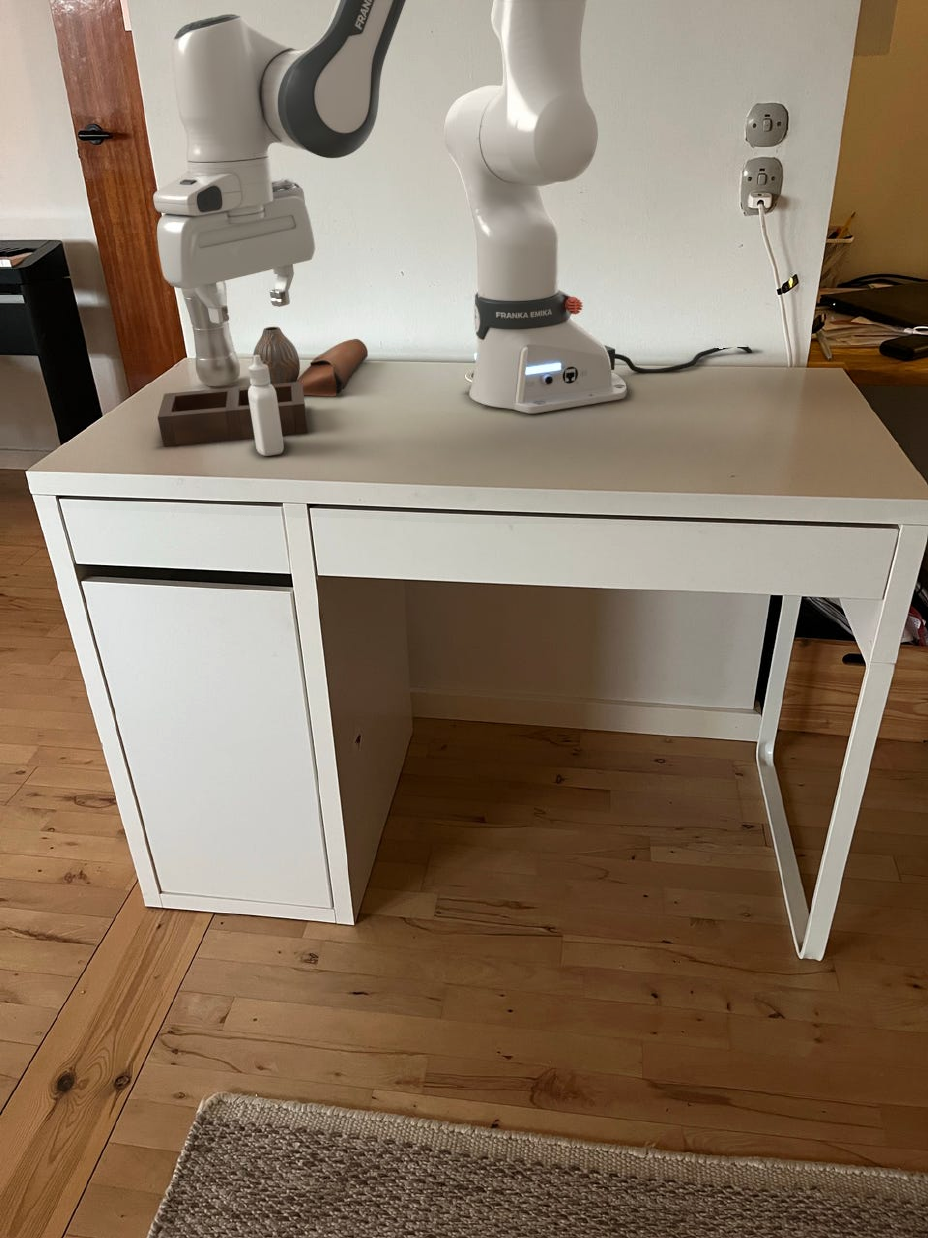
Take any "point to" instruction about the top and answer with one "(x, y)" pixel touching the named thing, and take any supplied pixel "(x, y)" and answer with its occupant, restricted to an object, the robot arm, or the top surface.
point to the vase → (278, 356)
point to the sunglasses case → (333, 369)
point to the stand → (225, 414)
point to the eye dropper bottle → (264, 410)
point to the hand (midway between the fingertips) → (251, 313)
